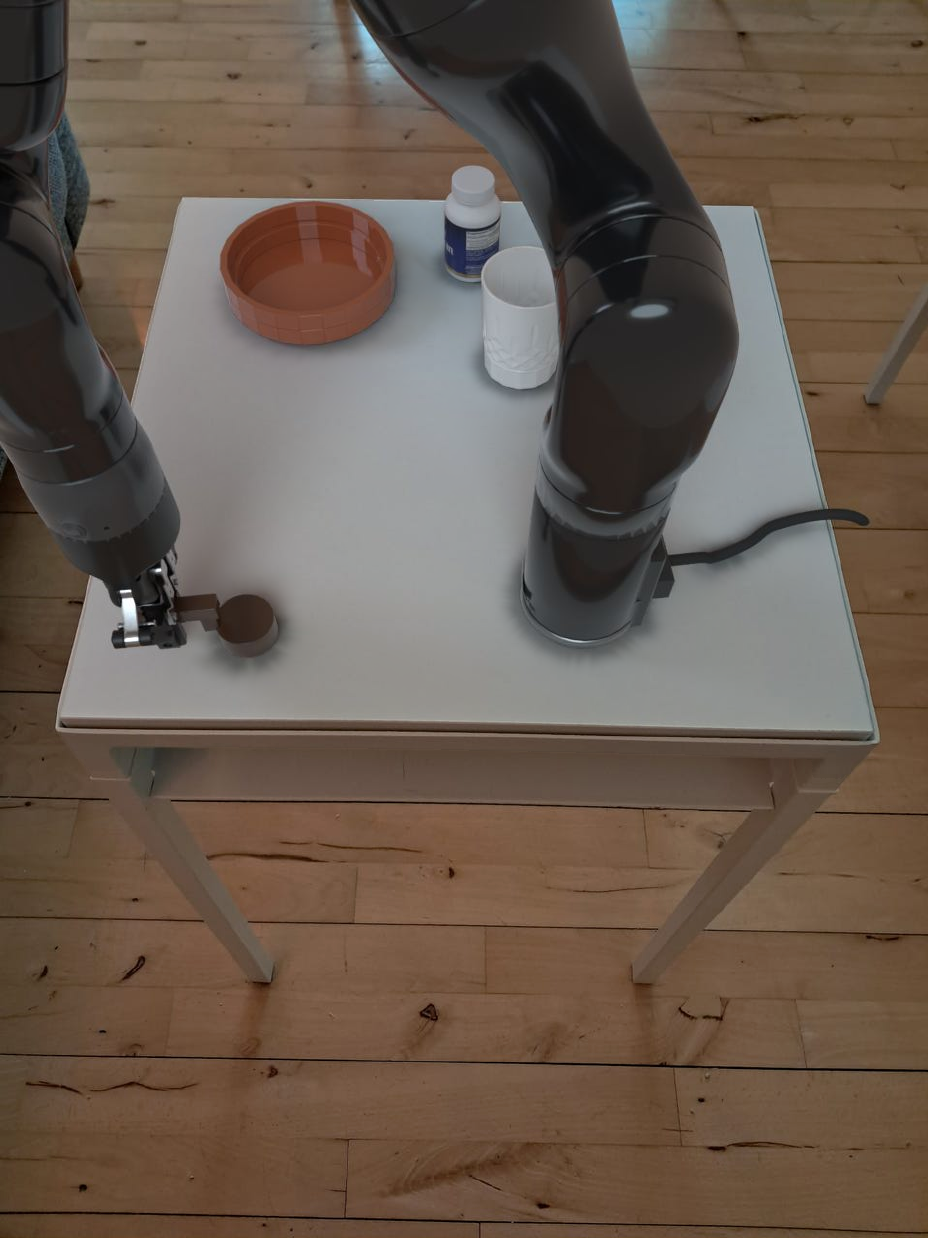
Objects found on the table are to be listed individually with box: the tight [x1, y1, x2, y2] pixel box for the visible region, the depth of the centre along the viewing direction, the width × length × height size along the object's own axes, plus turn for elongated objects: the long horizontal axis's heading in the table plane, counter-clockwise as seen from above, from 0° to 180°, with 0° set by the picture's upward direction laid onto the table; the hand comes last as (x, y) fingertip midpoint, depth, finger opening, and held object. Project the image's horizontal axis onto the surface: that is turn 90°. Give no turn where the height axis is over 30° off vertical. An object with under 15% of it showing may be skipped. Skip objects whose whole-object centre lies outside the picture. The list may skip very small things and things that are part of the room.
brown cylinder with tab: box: [173, 593, 279, 659], centre depth 70 cm, size 9×4×5 cm, turn 97°
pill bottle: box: [443, 165, 502, 283], centre depth 91 cm, size 5×5×10 cm
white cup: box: [480, 245, 558, 390], centre depth 84 cm, size 8×8×10 cm
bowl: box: [219, 200, 397, 346], centre depth 91 cm, size 16×16×4 cm
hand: (173, 630), depth 71 cm, fingers closed on brown cylinder with tab, 1 cm apart
